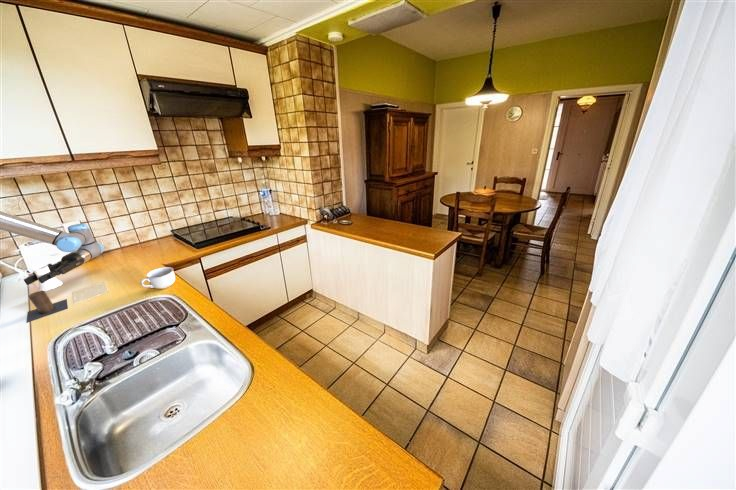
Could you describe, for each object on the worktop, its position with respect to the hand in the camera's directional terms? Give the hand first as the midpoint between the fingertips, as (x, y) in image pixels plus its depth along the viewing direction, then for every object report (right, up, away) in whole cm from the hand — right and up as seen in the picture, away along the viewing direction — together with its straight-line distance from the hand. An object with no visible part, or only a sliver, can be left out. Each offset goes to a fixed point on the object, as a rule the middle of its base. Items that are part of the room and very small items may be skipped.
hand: (33, 281), depth 118 cm
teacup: (+47, -5, +13) cm, 49 cm away
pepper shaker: (+9, -13, -2) cm, 16 cm away
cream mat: (+14, -7, +11) cm, 19 cm away
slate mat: (+8, -13, -1) cm, 16 cm away
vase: (-1, -4, +7) cm, 8 cm away
